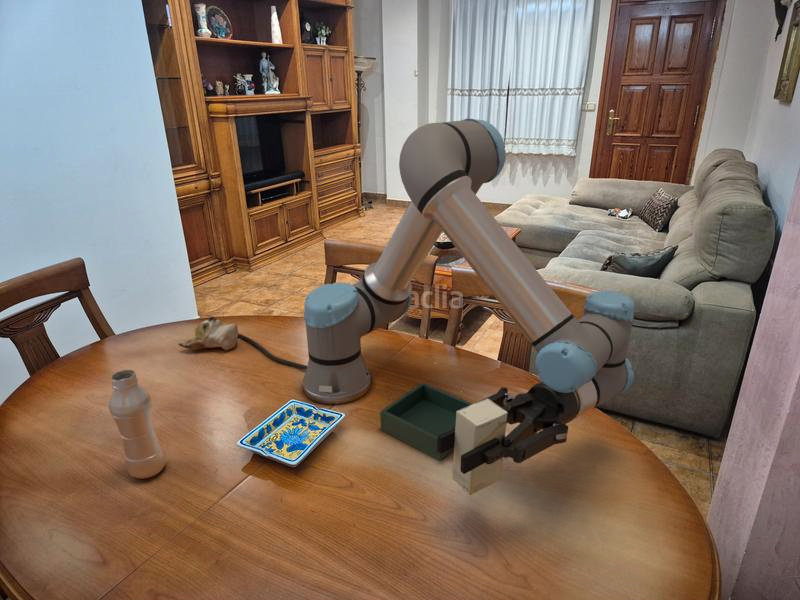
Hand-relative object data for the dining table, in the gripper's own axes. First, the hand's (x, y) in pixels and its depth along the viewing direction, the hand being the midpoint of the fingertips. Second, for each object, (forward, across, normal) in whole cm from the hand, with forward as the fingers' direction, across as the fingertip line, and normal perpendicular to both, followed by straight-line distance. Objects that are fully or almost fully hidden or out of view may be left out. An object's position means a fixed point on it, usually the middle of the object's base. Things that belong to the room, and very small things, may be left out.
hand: (450, 454), depth 71 cm
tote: (-15, +23, -16) cm, 32 cm away
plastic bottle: (+34, +43, -16) cm, 57 cm away
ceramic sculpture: (+10, +85, -17) cm, 87 cm away
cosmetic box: (-5, 0, -7) cm, 9 cm away
